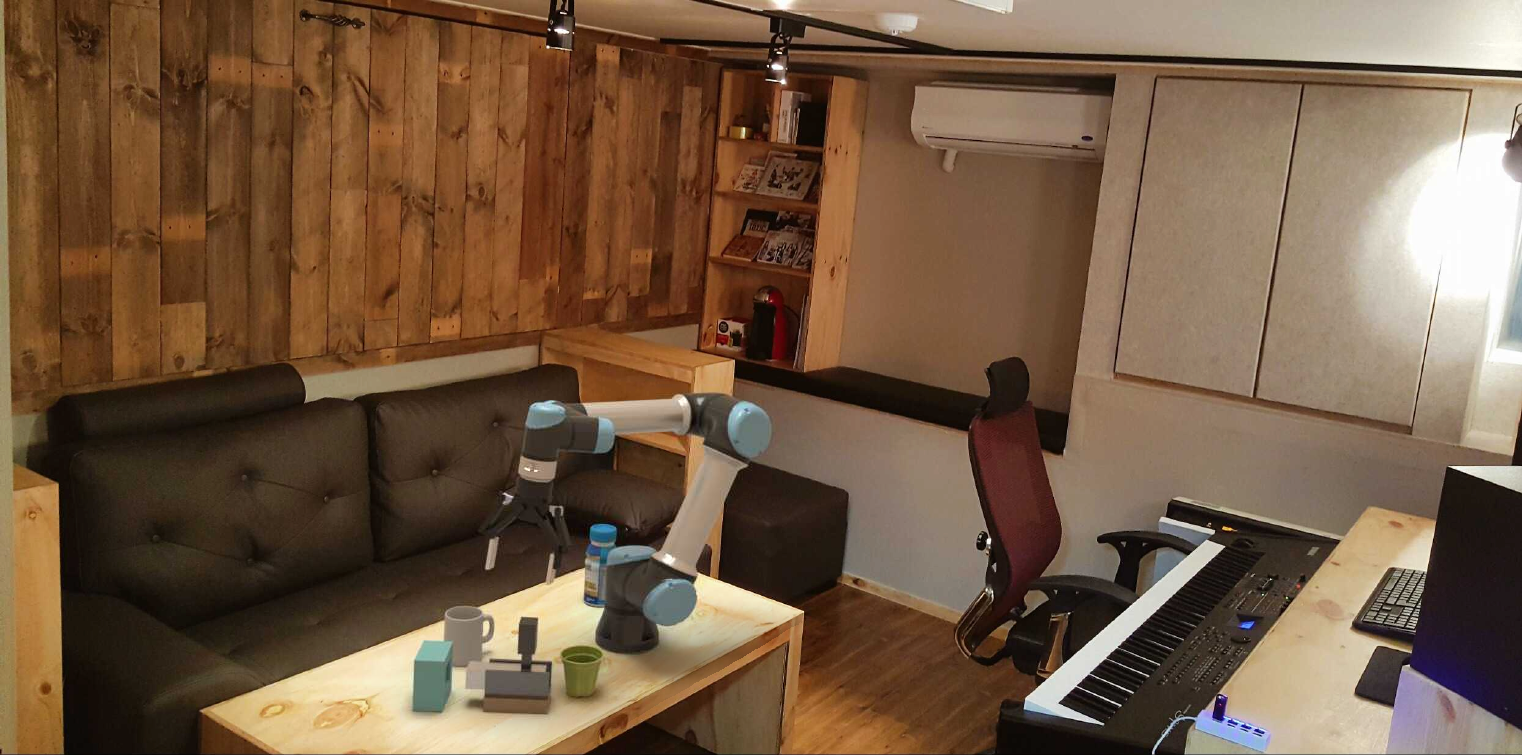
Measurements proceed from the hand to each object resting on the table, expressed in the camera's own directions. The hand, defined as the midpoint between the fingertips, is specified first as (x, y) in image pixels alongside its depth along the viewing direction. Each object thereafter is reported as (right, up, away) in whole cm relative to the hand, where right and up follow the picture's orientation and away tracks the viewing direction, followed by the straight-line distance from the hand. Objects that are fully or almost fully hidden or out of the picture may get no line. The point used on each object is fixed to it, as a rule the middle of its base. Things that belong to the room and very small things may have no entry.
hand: (519, 575), depth 251 cm
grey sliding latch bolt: (-3, -23, -1) cm, 23 cm away
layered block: (0, -27, 0) cm, 27 cm away
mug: (-15, -22, +20) cm, 34 cm away
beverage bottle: (+9, -17, +59) cm, 62 cm away
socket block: (-18, -26, -2) cm, 31 cm away
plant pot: (+12, -26, +8) cm, 30 cm away
